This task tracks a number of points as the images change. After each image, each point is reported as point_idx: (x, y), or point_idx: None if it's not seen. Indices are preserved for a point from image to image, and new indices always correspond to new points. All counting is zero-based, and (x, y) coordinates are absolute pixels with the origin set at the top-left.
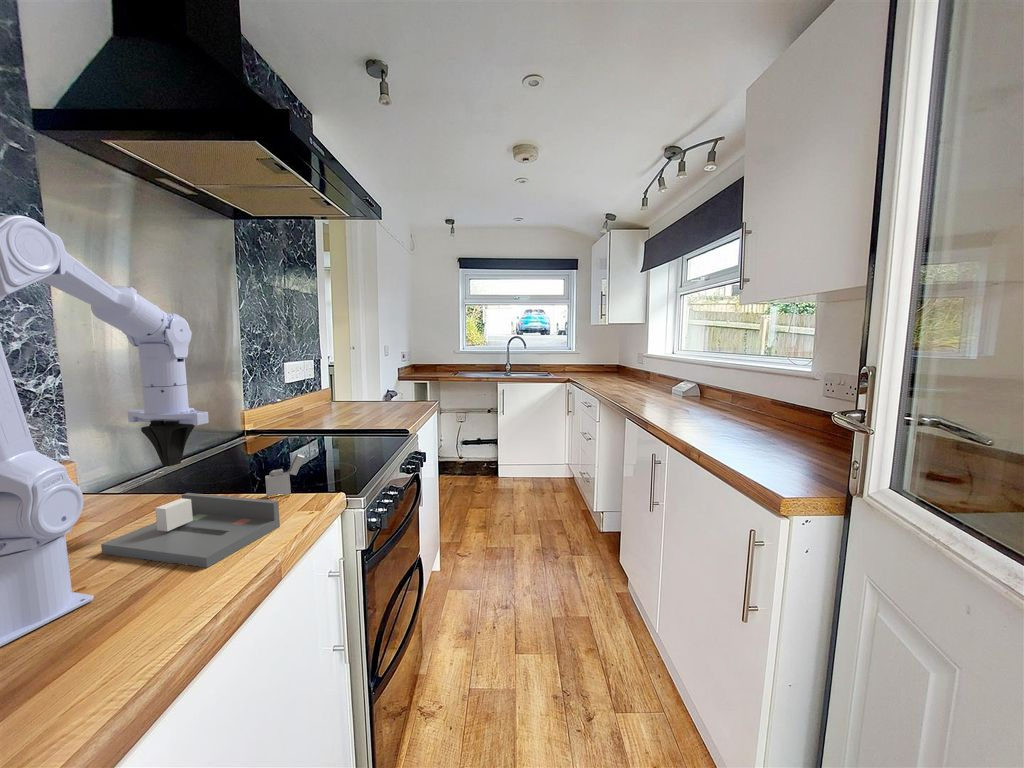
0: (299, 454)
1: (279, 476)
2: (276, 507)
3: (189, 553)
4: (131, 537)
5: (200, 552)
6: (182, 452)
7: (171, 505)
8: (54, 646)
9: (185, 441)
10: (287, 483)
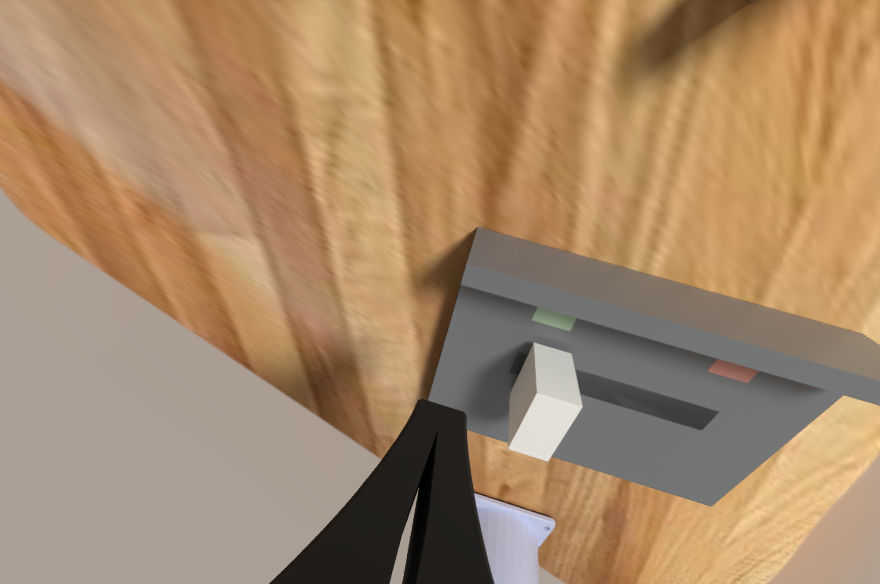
0: None
1: None
2: None
3: (661, 485)
4: (463, 400)
5: (686, 487)
6: (470, 477)
7: (547, 442)
8: (582, 570)
9: (488, 579)
10: None
